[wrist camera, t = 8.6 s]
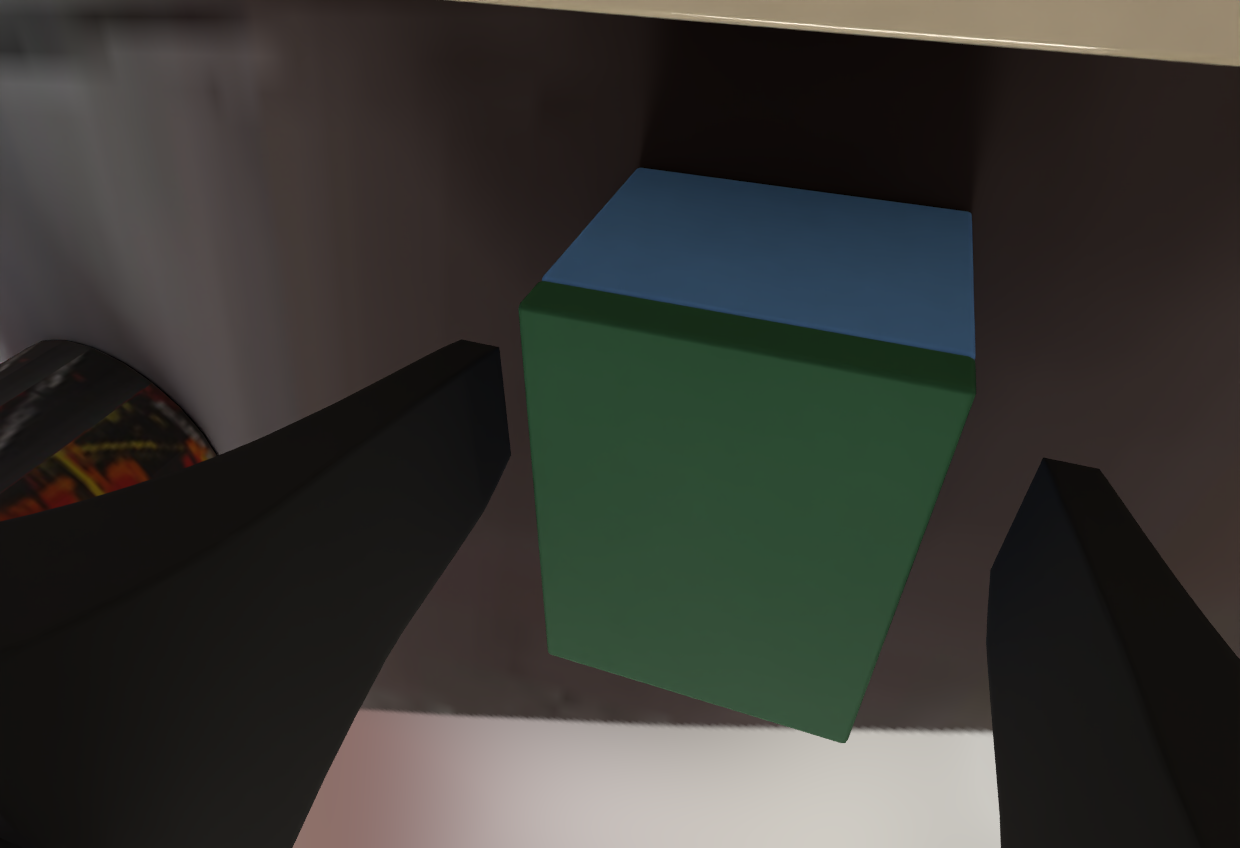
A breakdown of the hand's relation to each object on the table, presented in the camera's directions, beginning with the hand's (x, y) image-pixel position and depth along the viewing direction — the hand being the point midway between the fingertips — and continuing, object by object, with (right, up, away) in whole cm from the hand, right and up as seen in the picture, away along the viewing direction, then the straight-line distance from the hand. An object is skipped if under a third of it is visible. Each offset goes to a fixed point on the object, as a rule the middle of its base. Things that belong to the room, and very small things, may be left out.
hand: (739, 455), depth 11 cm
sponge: (+1, +1, +2) cm, 2 cm away
